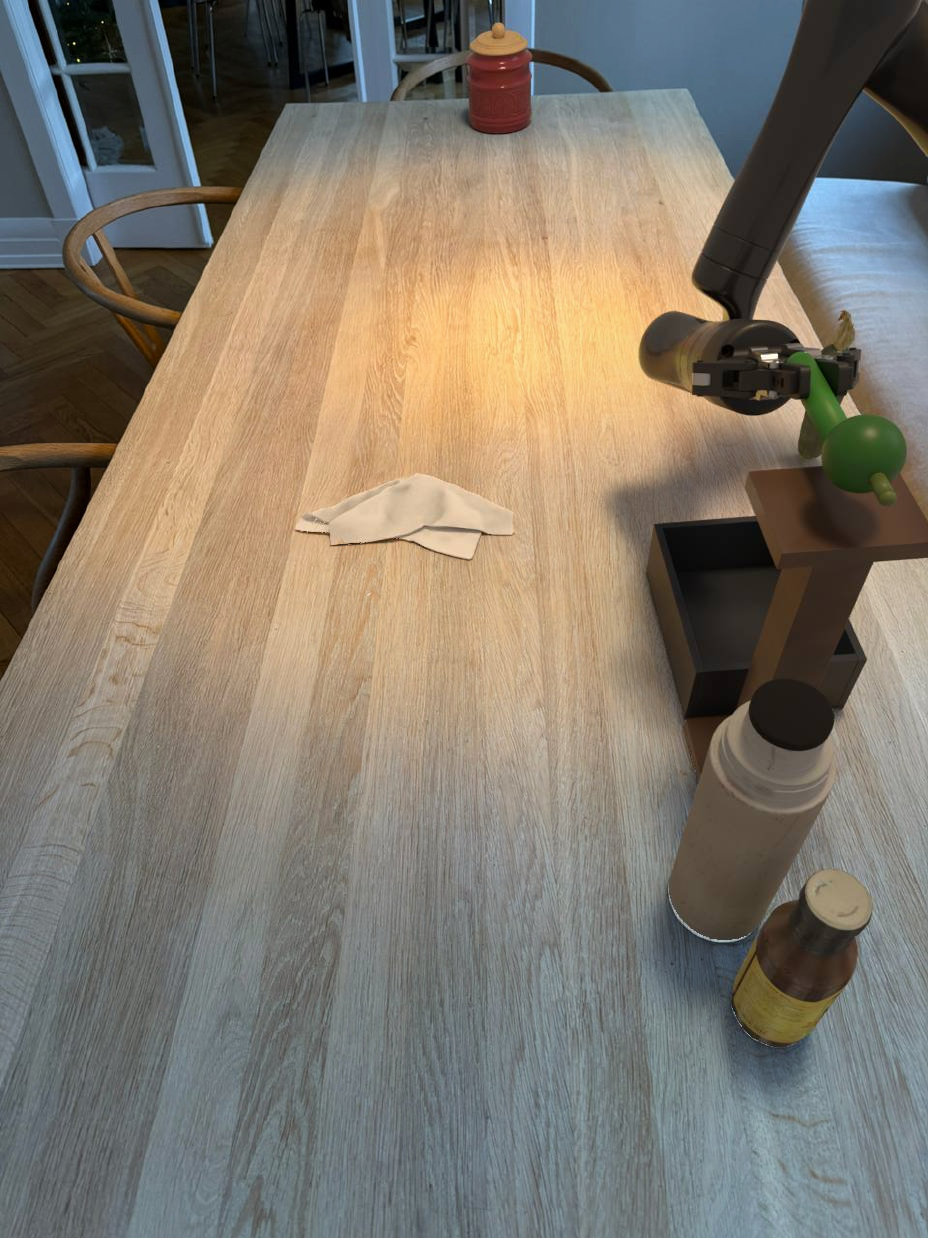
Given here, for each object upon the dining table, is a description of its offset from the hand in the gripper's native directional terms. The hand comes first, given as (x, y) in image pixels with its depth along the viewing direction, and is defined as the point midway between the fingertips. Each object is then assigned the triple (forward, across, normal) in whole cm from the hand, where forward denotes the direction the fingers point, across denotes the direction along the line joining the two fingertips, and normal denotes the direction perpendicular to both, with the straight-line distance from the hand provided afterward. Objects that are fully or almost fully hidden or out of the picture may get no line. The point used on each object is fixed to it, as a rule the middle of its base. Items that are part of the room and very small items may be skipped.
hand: (824, 381), depth 59 cm
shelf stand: (-12, 0, +35) cm, 37 cm away
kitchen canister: (-145, -10, -41) cm, 151 cm away
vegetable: (-48, +18, +15) cm, 53 cm away
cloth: (-44, -31, +17) cm, 57 cm away
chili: (+2, 0, +4) cm, 4 cm away
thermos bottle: (-1, -6, +42) cm, 42 cm away
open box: (-25, +3, +28) cm, 38 cm away
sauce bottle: (+7, -4, +46) cm, 47 cm away
